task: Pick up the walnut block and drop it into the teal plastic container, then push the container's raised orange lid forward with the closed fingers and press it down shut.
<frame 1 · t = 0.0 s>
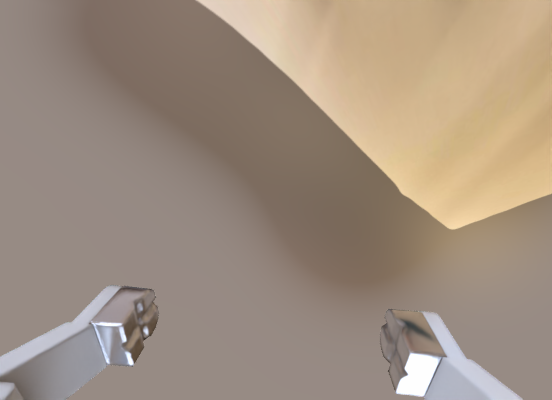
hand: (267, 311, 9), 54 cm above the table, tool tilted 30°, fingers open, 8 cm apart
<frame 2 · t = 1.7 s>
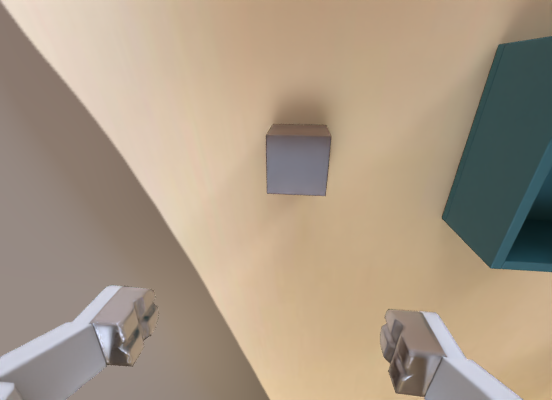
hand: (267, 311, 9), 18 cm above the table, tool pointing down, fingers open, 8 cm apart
container: (546, 145, 23), on the table
block: (298, 150, 25), on the table
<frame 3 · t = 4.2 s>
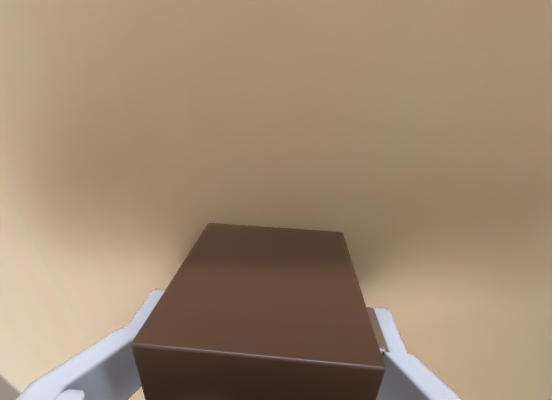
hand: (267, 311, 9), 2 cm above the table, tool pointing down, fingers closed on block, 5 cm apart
block: (272, 280, 10), on the table, touching gripper
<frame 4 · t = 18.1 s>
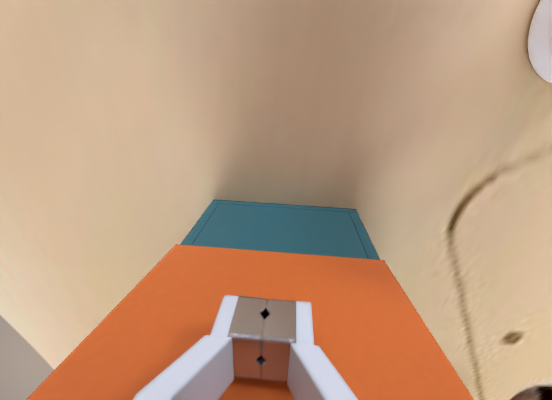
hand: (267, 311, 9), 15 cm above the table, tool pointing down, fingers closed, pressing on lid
container: (279, 269, 27), on the table
lid: (262, 375, 9), point 16 cm above the table, hinge at 96.9°, touching gripper
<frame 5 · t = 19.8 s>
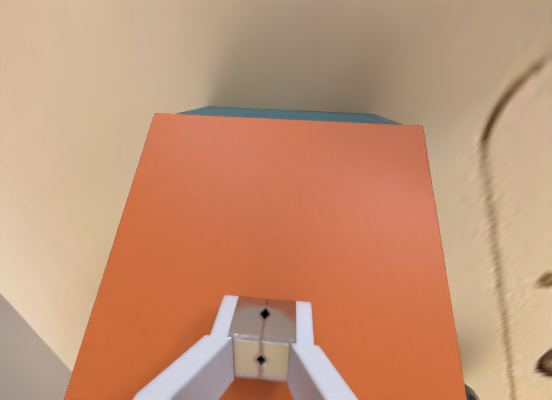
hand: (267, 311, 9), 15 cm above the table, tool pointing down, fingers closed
container: (284, 197, 24), on the table
lid: (271, 290, 10), point 14 cm above the table, hinge at 45.7°, touching gripper
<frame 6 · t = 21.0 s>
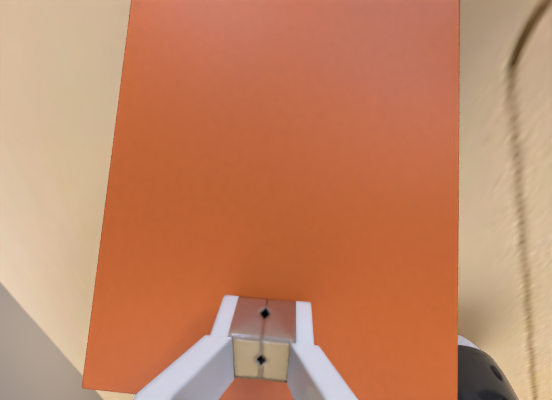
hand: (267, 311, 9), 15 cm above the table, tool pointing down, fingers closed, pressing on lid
lid: (278, 184, 10), point 12 cm above the table, hinge at 29.1°, touching gripper
pump dispenser: (428, 344, 30), on the table
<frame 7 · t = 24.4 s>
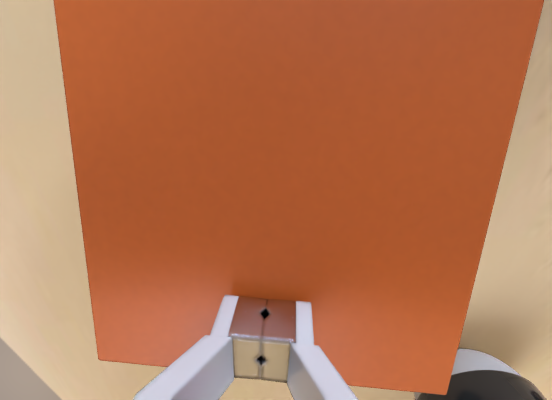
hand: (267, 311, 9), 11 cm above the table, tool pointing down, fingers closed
lid: (277, 164, 8), point 10 cm above the table, hinge at 11.2°
pump dispenser: (452, 364, 26), on the table
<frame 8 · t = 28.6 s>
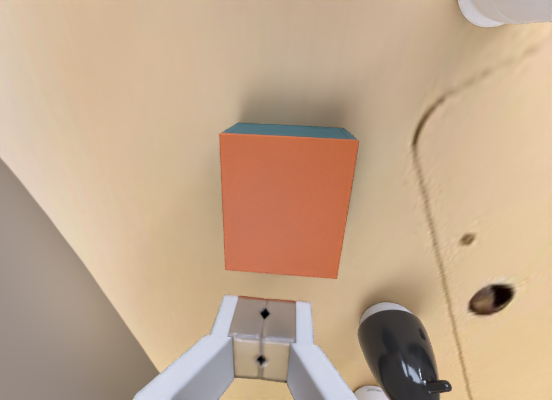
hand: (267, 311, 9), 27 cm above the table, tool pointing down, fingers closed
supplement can: (370, 394, 53), on the table
container: (286, 182, 36), on the table
lid: (284, 212, 28), point 8 cm above the table, hinge at 1.4°
pump dispenser: (383, 313, 44), on the table
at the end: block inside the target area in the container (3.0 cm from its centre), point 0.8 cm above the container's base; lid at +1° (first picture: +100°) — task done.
